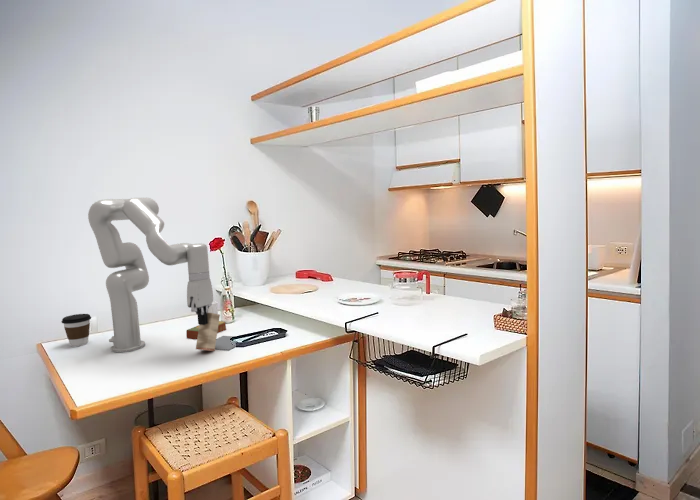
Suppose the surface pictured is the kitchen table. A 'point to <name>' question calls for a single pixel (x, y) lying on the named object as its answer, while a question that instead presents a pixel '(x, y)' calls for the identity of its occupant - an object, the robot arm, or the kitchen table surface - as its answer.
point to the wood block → (208, 333)
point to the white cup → (213, 308)
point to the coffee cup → (77, 328)
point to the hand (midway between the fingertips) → (203, 324)
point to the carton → (193, 331)
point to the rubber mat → (224, 343)
